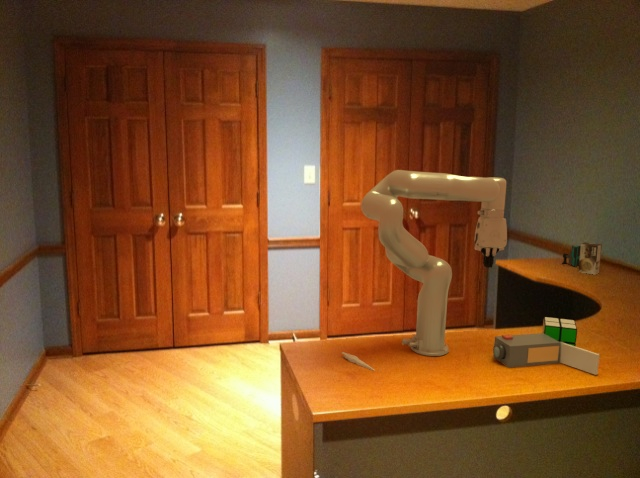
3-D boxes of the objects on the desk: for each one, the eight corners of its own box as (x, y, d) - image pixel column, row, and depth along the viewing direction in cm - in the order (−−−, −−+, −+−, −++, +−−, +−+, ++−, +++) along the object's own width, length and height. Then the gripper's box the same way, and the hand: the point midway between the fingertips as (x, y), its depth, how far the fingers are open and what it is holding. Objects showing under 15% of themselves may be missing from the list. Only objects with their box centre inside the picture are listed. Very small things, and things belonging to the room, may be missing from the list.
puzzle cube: (572, 347, 198) (574, 320, 196) (574, 358, 189) (577, 329, 187) (541, 343, 201) (543, 316, 199) (542, 353, 192) (544, 325, 190)
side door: (598, 374, 175) (600, 353, 174) (595, 375, 174) (597, 354, 173) (560, 361, 185) (562, 341, 184) (557, 362, 184) (559, 342, 183)
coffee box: (599, 273, 311) (602, 244, 308) (595, 275, 307) (598, 245, 304) (581, 270, 317) (585, 241, 315) (577, 272, 313) (580, 243, 310)
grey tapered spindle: (338, 356, 184) (339, 351, 184) (344, 355, 186) (345, 349, 186) (371, 374, 173) (372, 368, 173) (377, 372, 175) (378, 366, 175)
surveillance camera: (566, 242, 334) (583, 245, 327) (564, 262, 337) (580, 266, 329) (561, 243, 331) (578, 246, 323) (559, 264, 333) (575, 267, 325)
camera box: (503, 368, 178) (505, 344, 177) (488, 357, 187) (489, 334, 186) (558, 363, 183) (561, 340, 182) (541, 353, 192) (543, 330, 191)
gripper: (477, 215, 189) (473, 269, 192) (518, 215, 192) (513, 268, 196) (466, 212, 196) (462, 264, 199) (506, 212, 200) (501, 264, 203)
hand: (487, 266), depth 198 cm, fingers closed
